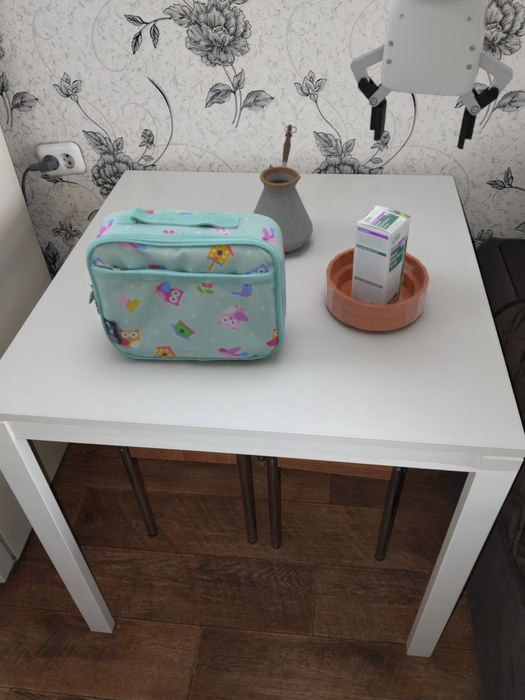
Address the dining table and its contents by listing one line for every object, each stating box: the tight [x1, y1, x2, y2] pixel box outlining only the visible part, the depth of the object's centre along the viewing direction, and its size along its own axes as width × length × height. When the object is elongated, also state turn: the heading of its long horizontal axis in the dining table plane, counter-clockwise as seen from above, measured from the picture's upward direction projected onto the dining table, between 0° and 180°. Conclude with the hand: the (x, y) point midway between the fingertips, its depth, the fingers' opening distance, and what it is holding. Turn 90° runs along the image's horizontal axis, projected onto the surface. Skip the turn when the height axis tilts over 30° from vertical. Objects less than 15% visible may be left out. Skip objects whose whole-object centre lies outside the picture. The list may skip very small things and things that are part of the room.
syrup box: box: [351, 204, 411, 304], centre depth 87 cm, size 6×6×14 cm
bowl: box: [324, 247, 430, 332], centre depth 91 cm, size 15×15×6 cm
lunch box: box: [85, 206, 287, 362], centre depth 80 cm, size 27×10×21 cm, turn 87°
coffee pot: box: [253, 123, 314, 254], centre depth 104 cm, size 21×12×15 cm, turn 171°
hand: (419, 140), depth 70 cm, fingers open, 9 cm apart
